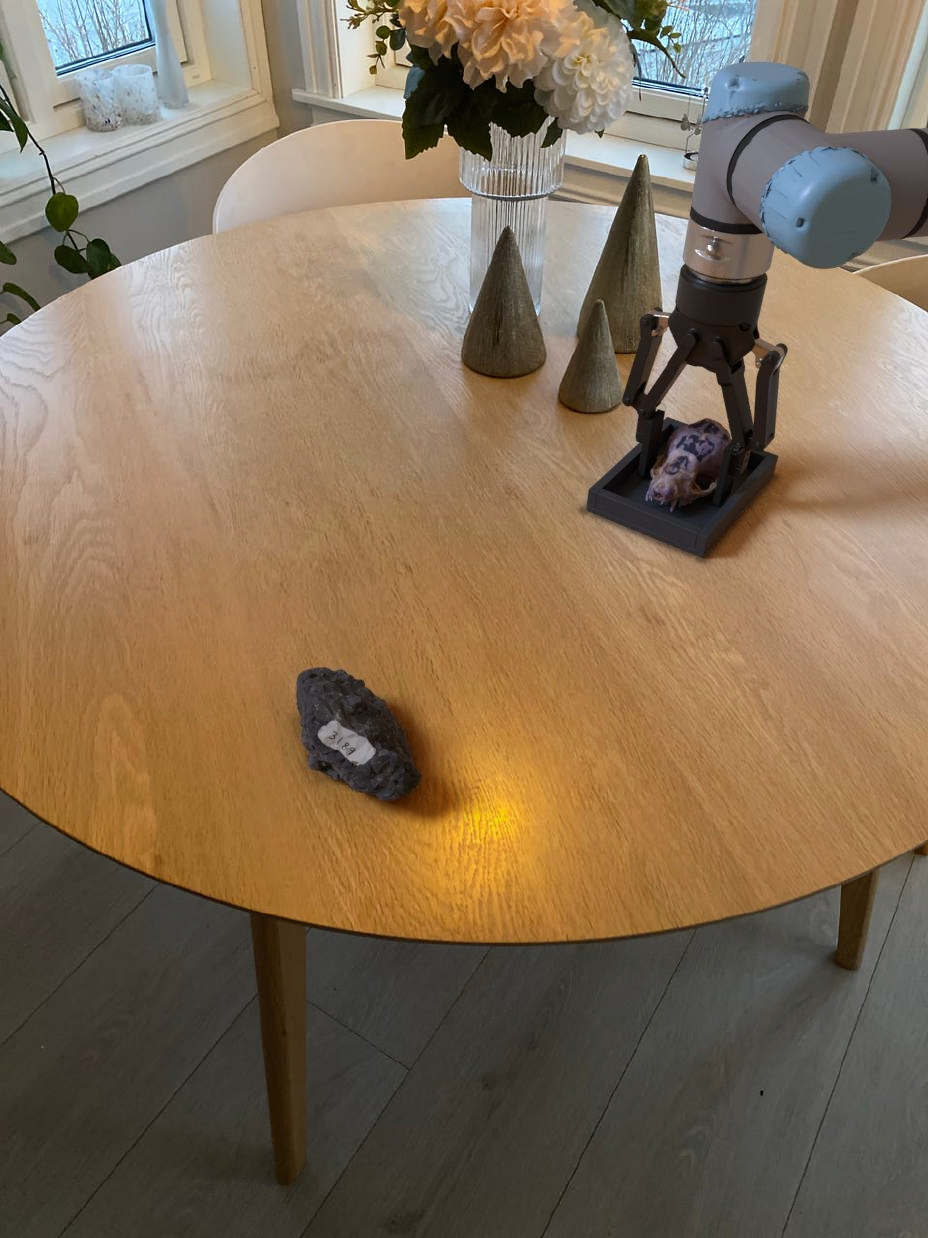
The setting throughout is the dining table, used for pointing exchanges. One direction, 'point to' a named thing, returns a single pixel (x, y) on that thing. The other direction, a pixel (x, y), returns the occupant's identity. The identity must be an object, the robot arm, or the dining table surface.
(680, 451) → the skull
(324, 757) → the rock
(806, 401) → the dining table surface
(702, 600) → the dining table surface
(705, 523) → the tray
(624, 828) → the dining table surface
